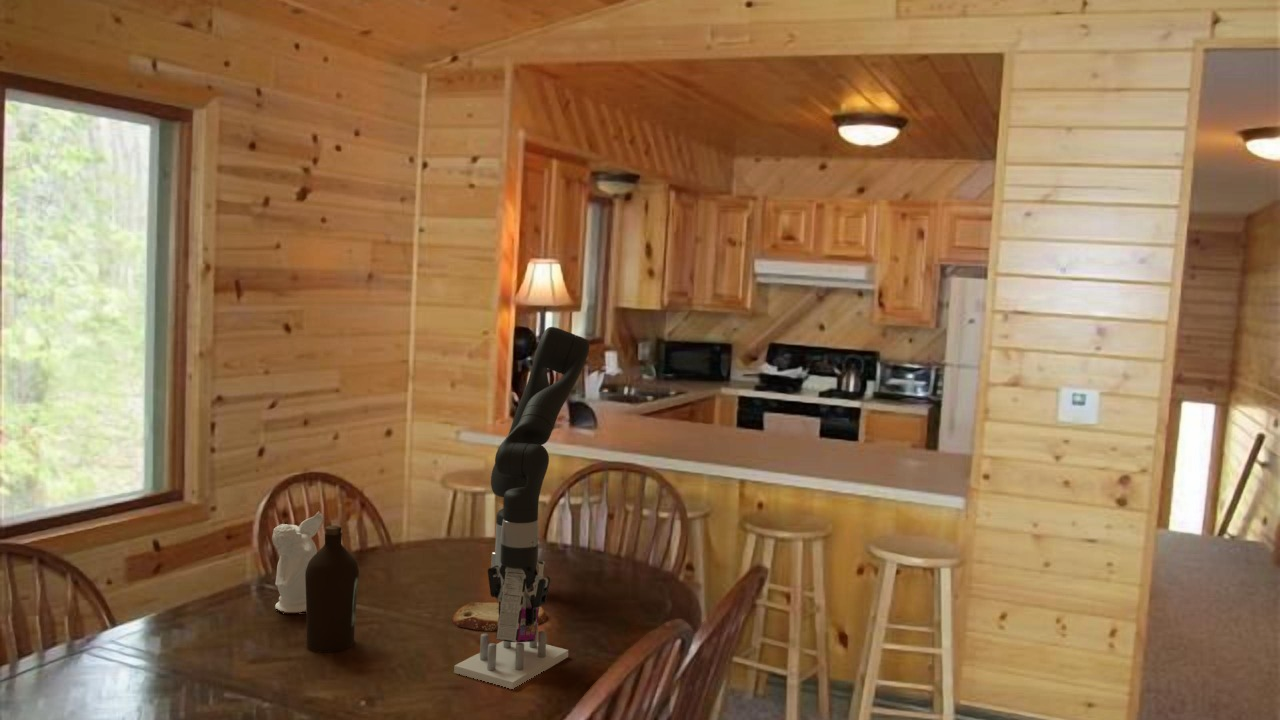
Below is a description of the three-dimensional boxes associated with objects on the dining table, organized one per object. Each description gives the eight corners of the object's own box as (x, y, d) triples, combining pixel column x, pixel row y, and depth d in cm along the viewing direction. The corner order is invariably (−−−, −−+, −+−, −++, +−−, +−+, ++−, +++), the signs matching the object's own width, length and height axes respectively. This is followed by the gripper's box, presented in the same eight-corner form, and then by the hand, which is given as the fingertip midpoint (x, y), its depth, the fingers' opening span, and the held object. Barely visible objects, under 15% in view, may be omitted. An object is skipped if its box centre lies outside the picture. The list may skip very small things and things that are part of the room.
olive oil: (307, 656, 201) (310, 535, 199) (300, 638, 211) (303, 522, 208) (361, 650, 206) (364, 531, 204) (352, 632, 215) (355, 519, 213)
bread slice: (553, 617, 232) (553, 601, 232) (512, 641, 216) (512, 624, 216) (488, 603, 240) (488, 588, 239) (443, 625, 223) (444, 609, 223)
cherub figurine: (278, 619, 221) (278, 522, 219) (257, 603, 231) (257, 510, 228) (330, 608, 229) (331, 514, 227) (308, 593, 239) (309, 503, 236)
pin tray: (454, 672, 197) (455, 641, 196) (512, 642, 214) (514, 613, 214) (512, 689, 190) (513, 656, 190) (568, 657, 208) (569, 626, 207)
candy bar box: (512, 638, 208) (524, 559, 211) (535, 642, 207) (546, 562, 210) (493, 639, 197) (506, 555, 201) (516, 643, 196) (529, 558, 200)
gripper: (479, 539, 201) (477, 620, 202) (539, 551, 194) (536, 635, 196) (501, 530, 207) (498, 609, 209) (559, 542, 201) (557, 623, 202)
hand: (517, 621), depth 202 cm, fingers closed on candy bar box, 5 cm apart
